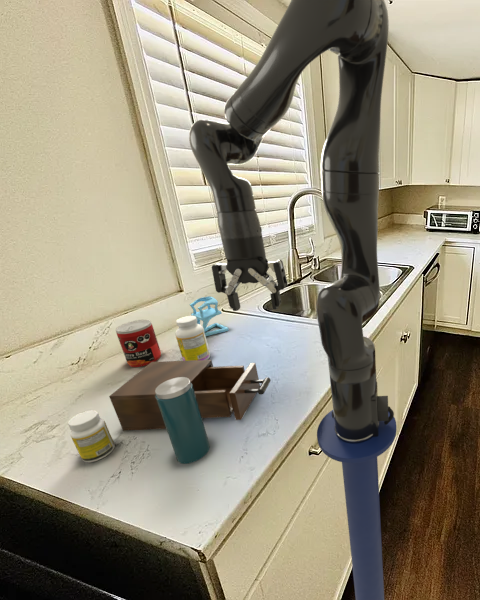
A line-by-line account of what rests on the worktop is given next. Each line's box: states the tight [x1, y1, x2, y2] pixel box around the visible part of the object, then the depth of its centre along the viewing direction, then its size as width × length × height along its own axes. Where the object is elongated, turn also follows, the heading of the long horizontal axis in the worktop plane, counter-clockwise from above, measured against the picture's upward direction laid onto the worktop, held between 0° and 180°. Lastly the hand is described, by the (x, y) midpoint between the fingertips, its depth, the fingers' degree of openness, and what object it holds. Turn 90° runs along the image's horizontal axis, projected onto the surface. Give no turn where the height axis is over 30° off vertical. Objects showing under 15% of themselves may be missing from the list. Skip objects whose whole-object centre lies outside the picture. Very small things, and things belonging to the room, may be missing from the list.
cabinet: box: [108, 359, 214, 432], centre depth 71 cm, size 14×13×9 cm
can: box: [155, 377, 211, 465], centre depth 59 cm, size 5×5×15 cm
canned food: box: [115, 319, 162, 368], centre depth 90 cm, size 8×8×11 cm
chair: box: [189, 295, 229, 337], centre depth 107 cm, size 8×8×12 cm
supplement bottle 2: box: [174, 315, 211, 361], centre depth 90 cm, size 7×7×13 cm
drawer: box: [192, 362, 271, 421], centre depth 72 cm, size 17×11×7 cm
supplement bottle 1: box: [67, 409, 116, 463], centre depth 60 cm, size 5×5×8 cm
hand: (256, 308), depth 71 cm, fingers open, 8 cm apart
